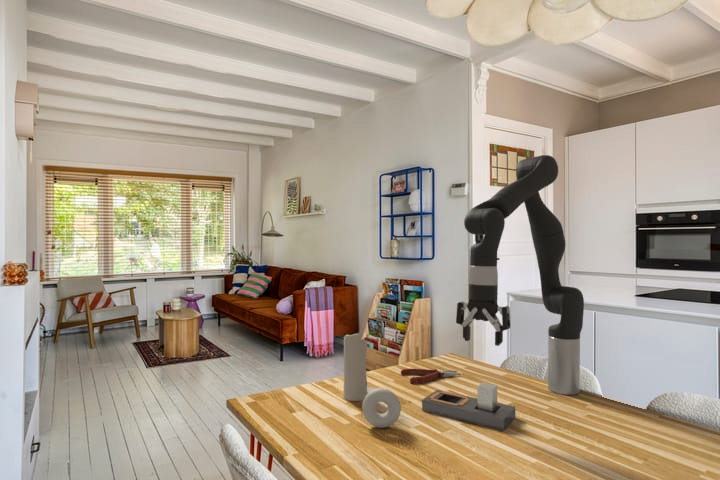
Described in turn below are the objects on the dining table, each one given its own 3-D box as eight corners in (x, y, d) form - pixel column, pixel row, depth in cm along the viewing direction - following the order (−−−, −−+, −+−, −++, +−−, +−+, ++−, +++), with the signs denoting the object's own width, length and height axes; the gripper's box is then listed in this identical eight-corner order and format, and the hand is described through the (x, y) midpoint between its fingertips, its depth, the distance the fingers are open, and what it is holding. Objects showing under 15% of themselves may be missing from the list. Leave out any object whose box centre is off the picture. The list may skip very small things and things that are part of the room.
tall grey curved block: (382, 389, 143) (382, 327, 143) (358, 403, 131) (359, 335, 131) (363, 385, 147) (363, 324, 147) (338, 398, 135) (339, 332, 135)
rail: (437, 399, 134) (437, 389, 134) (515, 417, 121) (515, 406, 121) (422, 410, 126) (422, 399, 126) (504, 430, 113) (504, 418, 113)
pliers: (466, 381, 153) (466, 373, 153) (411, 386, 148) (411, 378, 148) (451, 371, 164) (451, 364, 164) (399, 375, 159) (399, 368, 159)
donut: (400, 425, 116) (401, 386, 116) (401, 430, 113) (401, 391, 113) (362, 423, 117) (362, 385, 117) (361, 429, 114) (361, 390, 114)
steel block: (482, 414, 123) (482, 382, 123) (497, 418, 121) (497, 384, 121) (477, 419, 120) (477, 386, 120) (492, 423, 118) (492, 389, 118)
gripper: (514, 283, 119) (513, 344, 119) (464, 280, 128) (463, 336, 128) (504, 285, 113) (503, 349, 113) (452, 281, 122) (451, 341, 122)
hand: (482, 342), depth 121 cm, fingers open, 8 cm apart
